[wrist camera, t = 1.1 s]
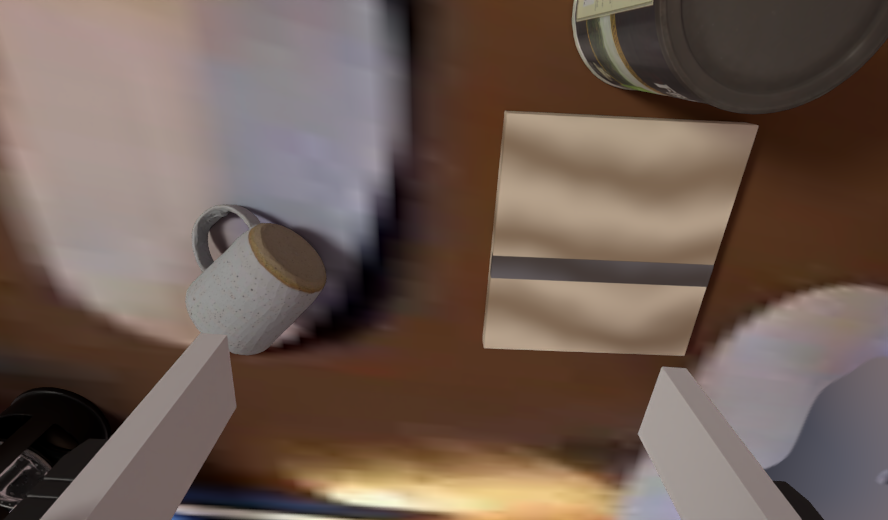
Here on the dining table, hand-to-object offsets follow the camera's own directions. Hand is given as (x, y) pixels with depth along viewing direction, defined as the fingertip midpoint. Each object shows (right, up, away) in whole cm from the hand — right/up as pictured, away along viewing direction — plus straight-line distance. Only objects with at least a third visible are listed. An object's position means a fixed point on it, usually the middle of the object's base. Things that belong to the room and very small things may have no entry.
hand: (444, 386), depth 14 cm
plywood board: (+13, +5, +24) cm, 28 cm away
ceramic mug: (-15, +4, +25) cm, 29 cm away
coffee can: (+14, +21, +17) cm, 30 cm away
